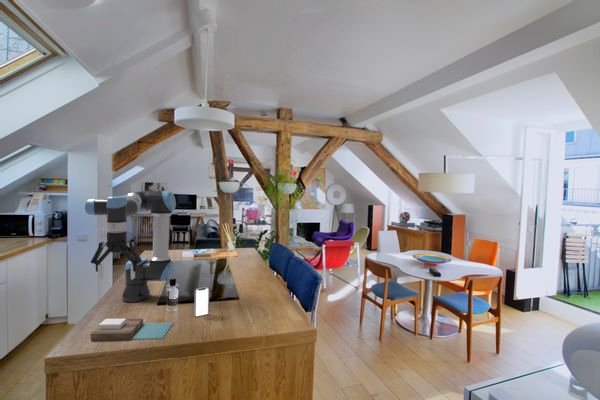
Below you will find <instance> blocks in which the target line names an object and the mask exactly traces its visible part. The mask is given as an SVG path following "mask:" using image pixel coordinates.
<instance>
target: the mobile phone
mask: <svg viewBox="0 0 600 400" xmlns="http://www.w3.org/2000/svg"><path fill="white" fill-rule="evenodd" d="M193 307H194V317H195V318H197V317H198V318H200V317H203V316H207V315H209V312H210V288H209V287H208V286H206V287H199V288H195V290H194V306H193Z"/></svg>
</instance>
